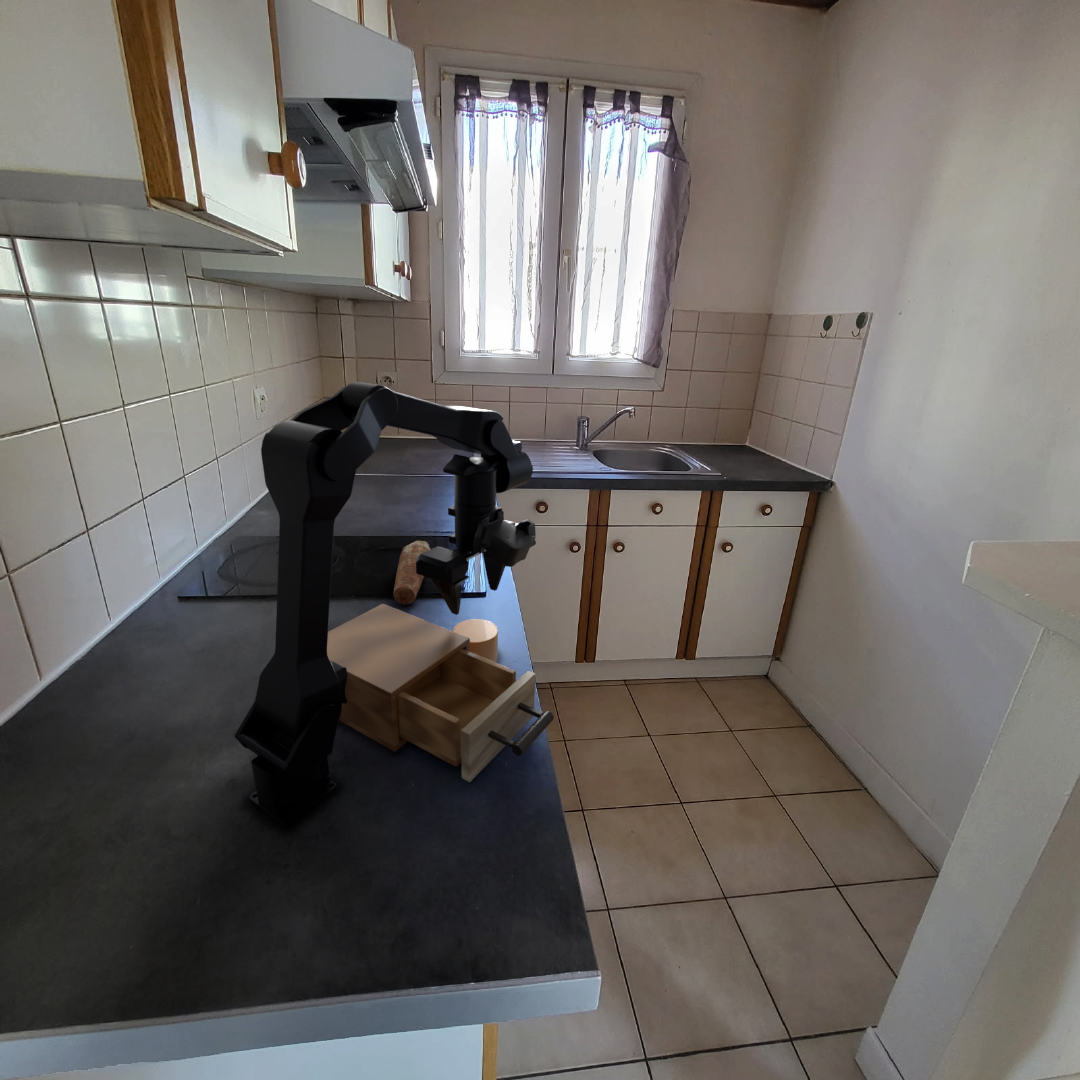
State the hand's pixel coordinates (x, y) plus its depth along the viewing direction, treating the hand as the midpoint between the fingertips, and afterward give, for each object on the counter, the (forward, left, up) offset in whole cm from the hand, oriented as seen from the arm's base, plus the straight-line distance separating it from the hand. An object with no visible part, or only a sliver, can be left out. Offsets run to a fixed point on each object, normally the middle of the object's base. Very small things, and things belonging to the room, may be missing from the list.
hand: (475, 601), depth 83 cm
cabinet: (-14, +4, -10) cm, 18 cm away
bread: (+13, +25, -10) cm, 30 cm away
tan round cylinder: (0, 0, -10) cm, 10 cm away
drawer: (-14, -10, -9) cm, 19 cm away
